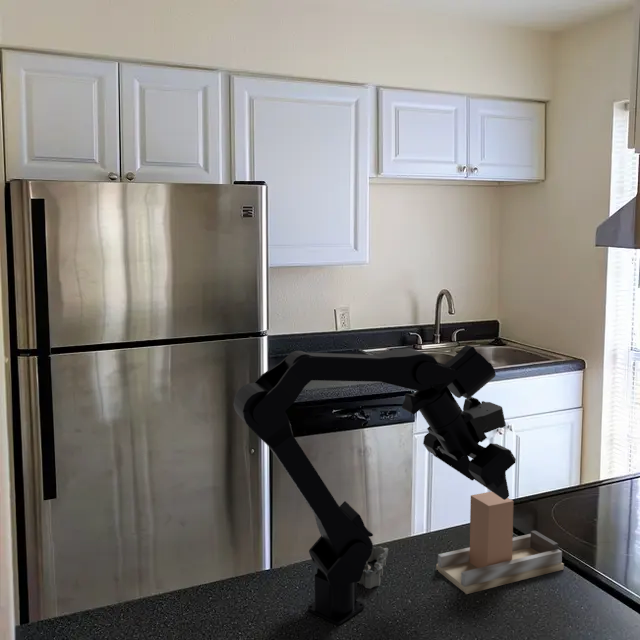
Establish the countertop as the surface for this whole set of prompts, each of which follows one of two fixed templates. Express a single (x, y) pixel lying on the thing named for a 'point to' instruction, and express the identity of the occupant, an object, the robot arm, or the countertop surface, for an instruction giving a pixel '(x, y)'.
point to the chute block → (490, 529)
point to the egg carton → (373, 577)
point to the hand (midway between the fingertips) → (489, 487)
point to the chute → (502, 564)
